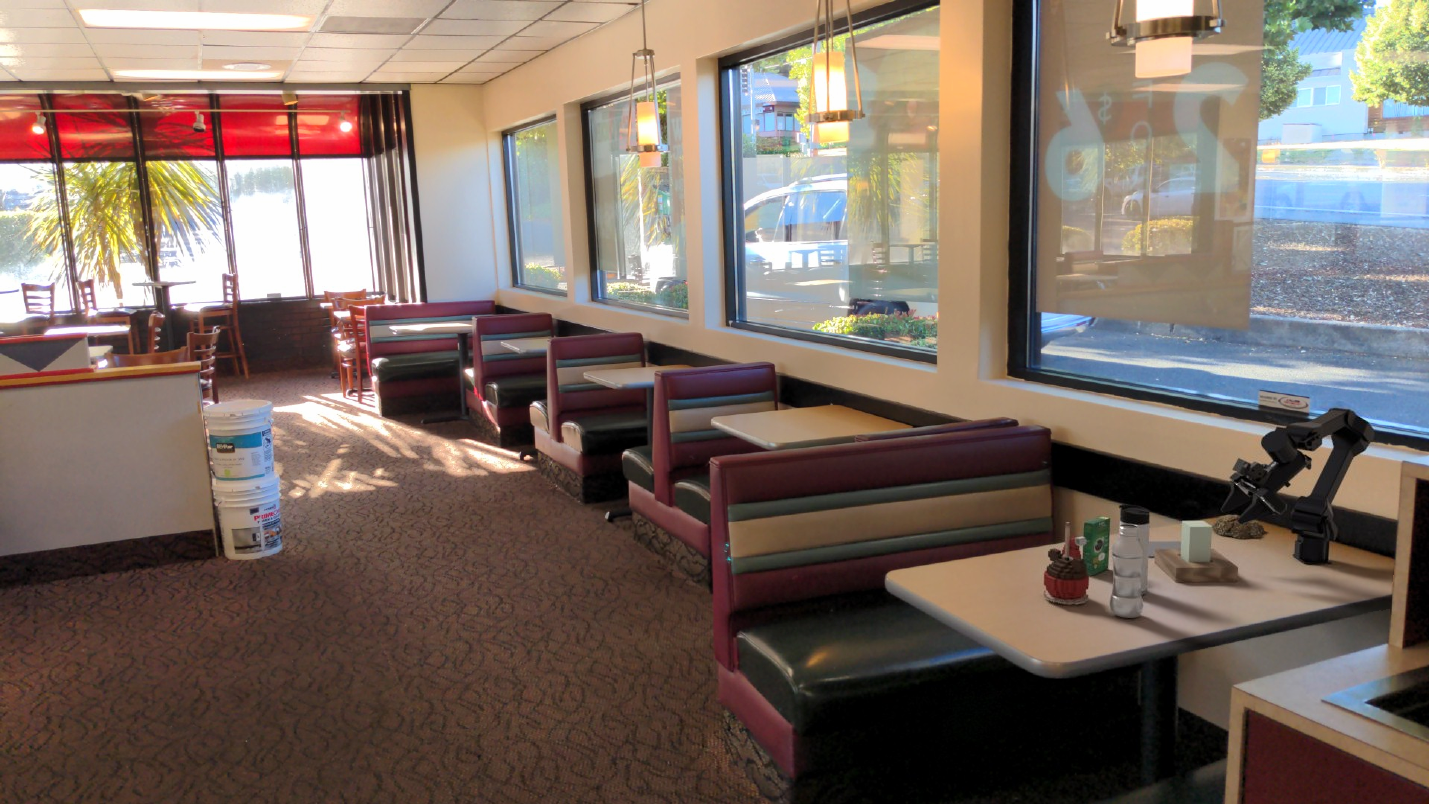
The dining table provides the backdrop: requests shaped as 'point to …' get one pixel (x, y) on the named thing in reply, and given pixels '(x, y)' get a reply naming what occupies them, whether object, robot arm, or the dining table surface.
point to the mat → (1162, 546)
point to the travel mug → (1141, 519)
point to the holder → (1196, 567)
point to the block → (1196, 541)
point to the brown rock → (1237, 527)
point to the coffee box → (1096, 544)
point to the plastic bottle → (1127, 573)
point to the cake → (1067, 572)
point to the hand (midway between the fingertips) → (1230, 517)
